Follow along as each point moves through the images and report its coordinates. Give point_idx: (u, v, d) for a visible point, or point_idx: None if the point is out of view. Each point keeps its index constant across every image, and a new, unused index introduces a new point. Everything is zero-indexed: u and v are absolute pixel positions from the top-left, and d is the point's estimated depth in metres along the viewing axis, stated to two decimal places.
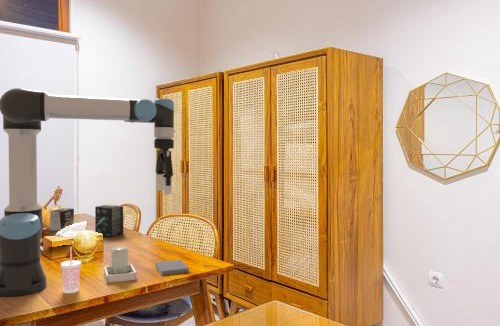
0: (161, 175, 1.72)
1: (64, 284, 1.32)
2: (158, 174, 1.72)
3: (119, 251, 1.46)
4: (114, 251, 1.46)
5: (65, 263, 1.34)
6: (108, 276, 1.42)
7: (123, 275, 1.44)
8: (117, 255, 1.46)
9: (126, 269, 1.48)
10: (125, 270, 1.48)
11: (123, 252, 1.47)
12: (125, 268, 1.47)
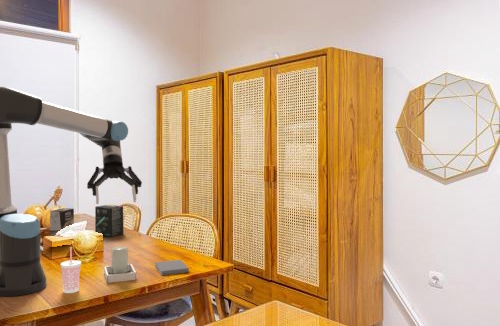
0: None
1: (64, 284, 1.32)
2: None
3: (119, 251, 1.46)
4: (114, 251, 1.46)
5: (65, 263, 1.34)
6: (108, 276, 1.42)
7: (123, 275, 1.44)
8: (117, 255, 1.46)
9: (126, 269, 1.48)
10: (125, 270, 1.48)
11: (123, 252, 1.47)
12: (125, 268, 1.47)
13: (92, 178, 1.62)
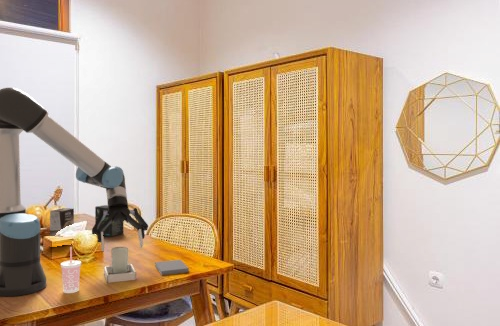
0: None
1: (64, 284, 1.32)
2: None
3: (119, 251, 1.46)
4: (114, 251, 1.46)
5: (65, 263, 1.34)
6: (108, 276, 1.42)
7: (123, 275, 1.44)
8: (117, 255, 1.46)
9: (126, 269, 1.48)
10: (125, 270, 1.48)
11: (123, 252, 1.47)
12: (125, 268, 1.47)
13: (97, 223, 1.55)
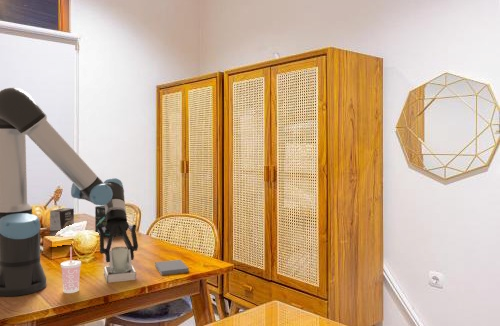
0: None
1: (64, 284, 1.32)
2: None
3: (119, 251, 1.46)
4: (114, 251, 1.46)
5: (65, 263, 1.34)
6: (108, 276, 1.42)
7: (123, 275, 1.44)
8: (117, 255, 1.46)
9: (126, 269, 1.48)
10: (125, 270, 1.48)
11: (123, 252, 1.47)
12: (125, 268, 1.47)
13: (102, 241, 1.49)
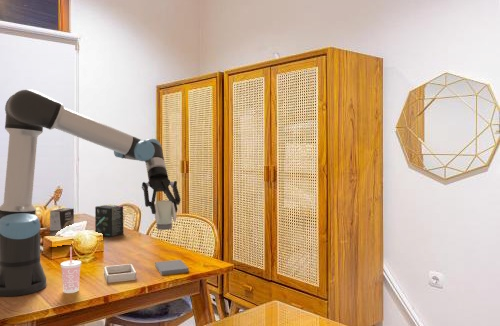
0: None
1: (64, 284, 1.32)
2: None
3: (164, 203, 1.53)
4: (159, 203, 1.54)
5: (65, 263, 1.34)
6: (108, 276, 1.42)
7: (123, 275, 1.44)
8: (162, 207, 1.53)
9: (170, 221, 1.56)
10: (170, 221, 1.55)
11: (168, 204, 1.54)
12: (169, 220, 1.55)
13: (147, 195, 1.56)
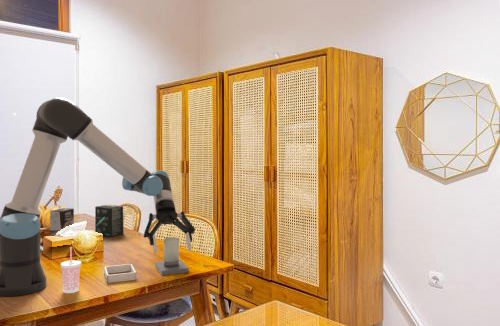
0: None
1: (64, 284, 1.32)
2: None
3: (172, 241, 1.55)
4: (167, 241, 1.56)
5: (65, 263, 1.34)
6: (108, 276, 1.42)
7: (123, 275, 1.44)
8: (170, 245, 1.55)
9: (177, 258, 1.58)
10: (177, 259, 1.57)
11: (175, 242, 1.56)
12: (176, 257, 1.57)
13: (148, 226, 1.58)
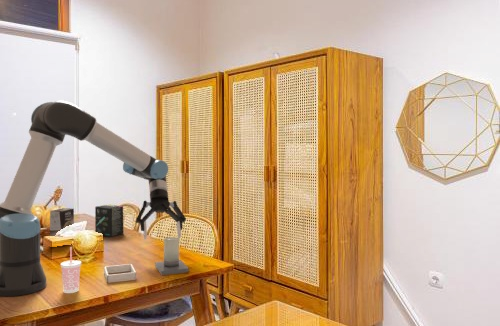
0: None
1: (64, 284, 1.32)
2: None
3: (172, 241, 1.55)
4: (167, 241, 1.56)
5: (65, 263, 1.34)
6: (108, 276, 1.42)
7: (123, 275, 1.44)
8: (170, 245, 1.55)
9: (177, 258, 1.58)
10: (177, 259, 1.57)
11: (175, 242, 1.56)
12: (176, 257, 1.57)
13: (140, 213, 1.70)
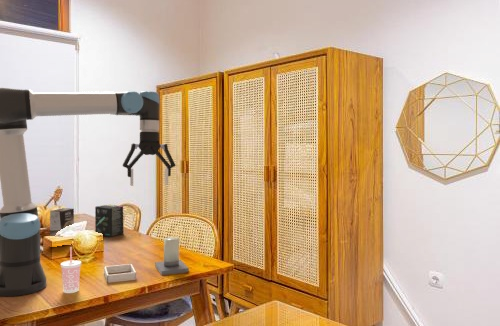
0: None
1: (64, 284, 1.32)
2: None
3: (172, 241, 1.55)
4: (167, 241, 1.56)
5: (65, 263, 1.34)
6: (108, 276, 1.42)
7: (123, 275, 1.44)
8: (170, 245, 1.55)
9: (177, 258, 1.58)
10: (177, 259, 1.57)
11: (175, 242, 1.56)
12: (176, 257, 1.57)
13: (128, 159, 1.62)
